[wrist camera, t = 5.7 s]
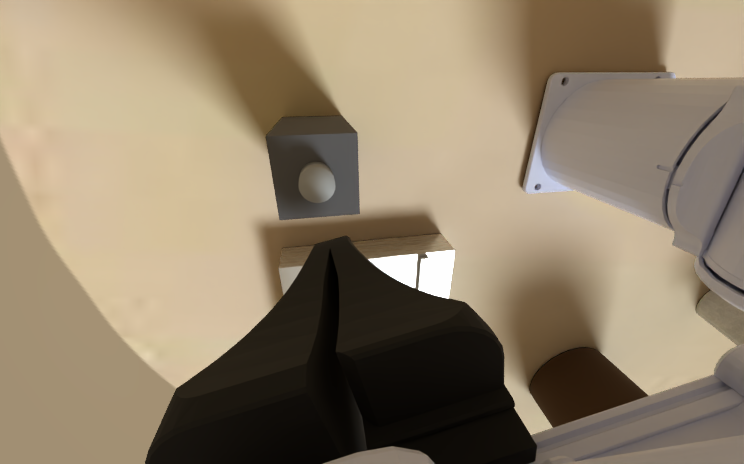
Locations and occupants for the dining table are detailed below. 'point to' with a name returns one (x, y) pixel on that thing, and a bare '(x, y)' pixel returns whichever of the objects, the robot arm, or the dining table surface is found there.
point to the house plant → (722, 316)
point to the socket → (391, 261)
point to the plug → (314, 167)
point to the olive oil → (581, 386)
